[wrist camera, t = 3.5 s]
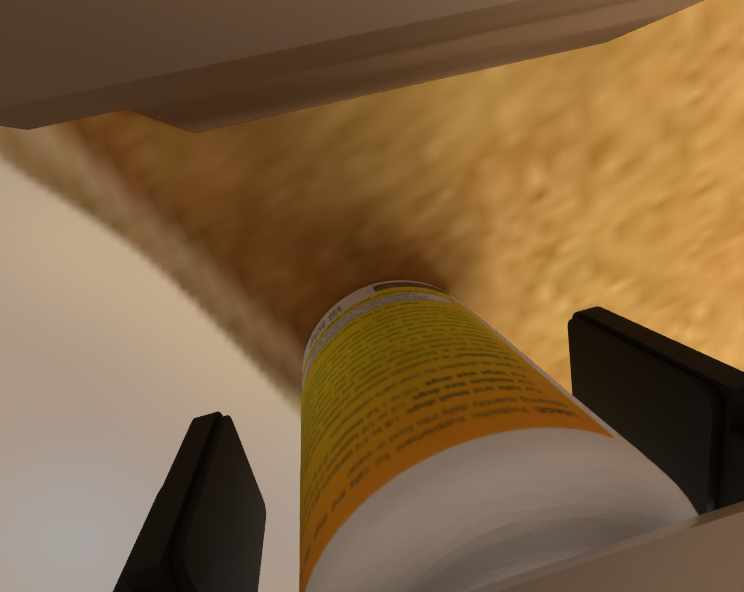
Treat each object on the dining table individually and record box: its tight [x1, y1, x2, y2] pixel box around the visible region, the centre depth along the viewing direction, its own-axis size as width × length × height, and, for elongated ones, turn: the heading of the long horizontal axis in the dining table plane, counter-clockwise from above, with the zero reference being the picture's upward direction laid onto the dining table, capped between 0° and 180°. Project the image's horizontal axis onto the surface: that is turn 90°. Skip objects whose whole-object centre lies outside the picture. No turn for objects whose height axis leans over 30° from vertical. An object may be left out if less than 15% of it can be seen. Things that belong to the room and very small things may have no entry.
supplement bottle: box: [299, 280, 699, 592], centre depth 8 cm, size 6×6×10 cm
